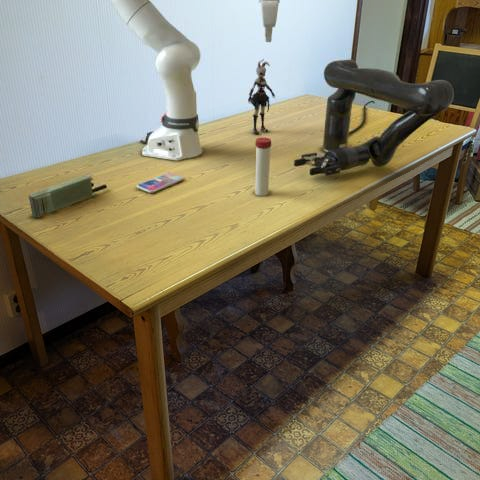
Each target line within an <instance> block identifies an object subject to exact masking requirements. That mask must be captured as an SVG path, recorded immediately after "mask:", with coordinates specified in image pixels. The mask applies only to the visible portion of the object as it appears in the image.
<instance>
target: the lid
mask: <svg viewBox="0 0 480 480" xmlns="http://www.w3.org/2000/svg"><path fill="white" fill-rule="evenodd" d="M271 146H272V139H271V138H269V137H257V138H256V139H255V148H256V147H258V148H269V147H270V148H271Z"/></svg>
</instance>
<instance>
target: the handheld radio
mask: <svg viewBox="0 0 480 480" xmlns="http://www.w3.org/2000/svg"><path fill="white" fill-rule="evenodd" d="M92 176H93V174H91V173H88V174H85V175H83V176H79V177H76V178H74V179H71V180H68V181H65V182H62V183H59V184H57V185H54V186H50V187H47V188H44V189H42V190H39V191H37V192H33V193H30V194H28V200H29V206H30V210H31V216H32V217H34V218H35V219H36V218H39V217H42V216H45V215H47V214H50V213H53V212H56V211H58V210H60V209H63V208H66V207H68V206H72V205H73V204H76V203H80V202H82V201H84V200H87V199H90V198H93V196H95V195H96V194H95V193H97V192H100V191H102V190H106V189H107V188H108V186H107V184H102V185H99V186H96V187H94V186H95V183H94V182H92V181H93V180H94V178H93V177H92ZM93 187H94V188H93Z"/></svg>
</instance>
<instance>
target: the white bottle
mask: <svg viewBox="0 0 480 480" xmlns="http://www.w3.org/2000/svg"><path fill="white" fill-rule="evenodd" d="M270 159H271V147H269V148H258V147H256V146H255V181H254V183H255V184H254V188H255V189H254V194H255V195H256V196H260V197H265V196H267V195H269V185H270V181H269V180H270Z"/></svg>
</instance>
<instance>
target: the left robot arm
mask: <svg viewBox="0 0 480 480" xmlns="http://www.w3.org/2000/svg"><path fill="white" fill-rule="evenodd" d="M280 2H281V1H280V0H258V3H259V4H260V7H261V19H262V27H263V28H264V37H265V42H266V43H271V42H272V37H273V28H276V24H277V19H278V11H279V4H280ZM110 3H111V5H112V6H113V8H114V10H115V11H116V12H117V14H118V15H119V16H120V18H121V19H122V21H123V22H124V23H125V24H126V26H128V28H129V29H130V30H131V31H132V32H133V33H134V35H135V36H136V37H137V38H138V39H139V40H140V41H141V43H142V44H144V45H145V46H147V47H149V48H150V49H152V50H153V51H154V52H156V53H158V54H157V57H156V59H155V68H156V71H157V73H158V74H159V76H160V79H161V83H162V86H163V91H164V98H165V113H163V114H162V116H161V118H160V123H161V125H159V127H157V128H156V129H155V130H153V131H149V132H147V133H146V135H145V141H144V140H142V139H141V140H140V141H139V142H140V143H142V144H144V145H145V144H147V145H145V146H144V147H143V148H142V150H141V155H142V156H145V157H152V158H157V159H164V160H170V161H176V162H178V161H182V160H185V159H190V158H191V159H192V158H196V157H198V156H200V155H202V153H203V149H202V148H203V147H202V145H201V142H200V134H199V128H200V121H199V114H198V103H197V91H196V90H195V87H194V83H193V78H192V73H193V71H195V70H196V69H197V68H198V66H199V64H200V60H201V50H200V48H199V46H198V45H197V44H196V43H195V42H193V41H192V40H190V39H189V38H188V37H187V36H185V35H184V34H183V33H182V32H181V31H180V30H178V29H177V28H176V27H175V26H174V25H173V24H172V23H170V22H169V21H168V19H167V18H166V17H165V16H164V15H163V14H162V13H161V11H159V10H158V8H157V7H156V6H155V4H154V3H153V2H152V1H151V0H110Z"/></svg>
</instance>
